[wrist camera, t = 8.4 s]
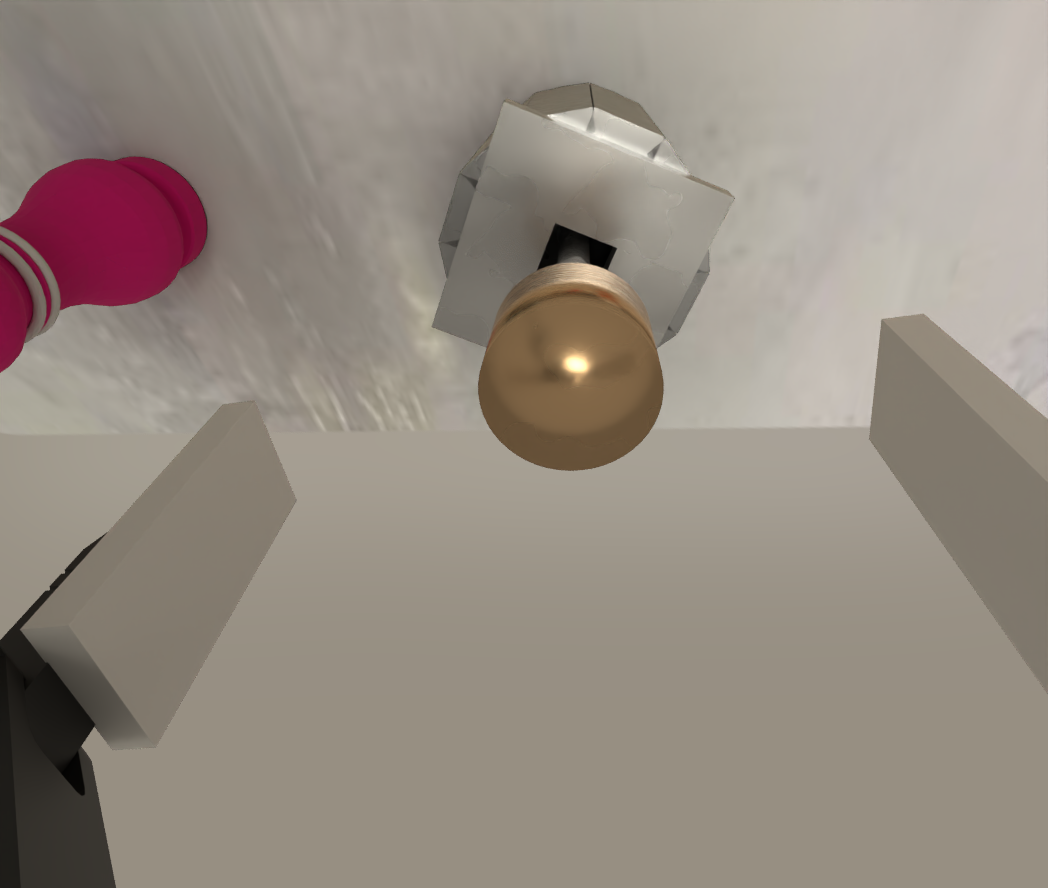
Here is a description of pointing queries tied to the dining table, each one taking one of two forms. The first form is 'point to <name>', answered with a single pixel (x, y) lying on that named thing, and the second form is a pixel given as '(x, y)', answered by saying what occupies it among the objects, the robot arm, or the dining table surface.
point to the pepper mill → (93, 242)
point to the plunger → (571, 361)
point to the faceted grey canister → (576, 208)
